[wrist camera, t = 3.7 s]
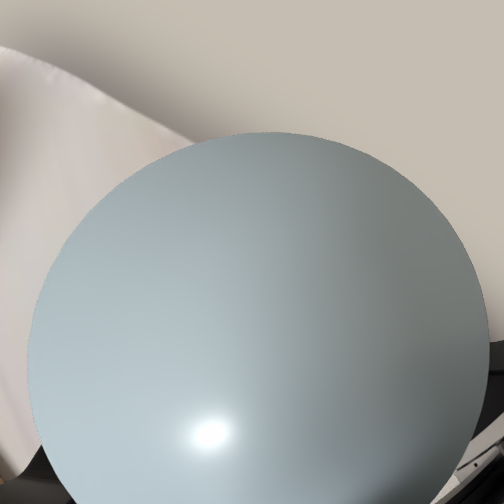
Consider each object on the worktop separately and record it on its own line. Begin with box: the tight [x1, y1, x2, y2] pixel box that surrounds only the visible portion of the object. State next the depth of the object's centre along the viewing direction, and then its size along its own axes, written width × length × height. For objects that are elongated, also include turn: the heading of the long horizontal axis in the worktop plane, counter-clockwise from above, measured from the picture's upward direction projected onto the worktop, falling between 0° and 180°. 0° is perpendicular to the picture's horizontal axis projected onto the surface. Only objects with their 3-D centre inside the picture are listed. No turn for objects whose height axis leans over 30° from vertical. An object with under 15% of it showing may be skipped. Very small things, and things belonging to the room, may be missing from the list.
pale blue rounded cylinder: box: [27, 132, 489, 504], centre depth 9 cm, size 6×6×13 cm
